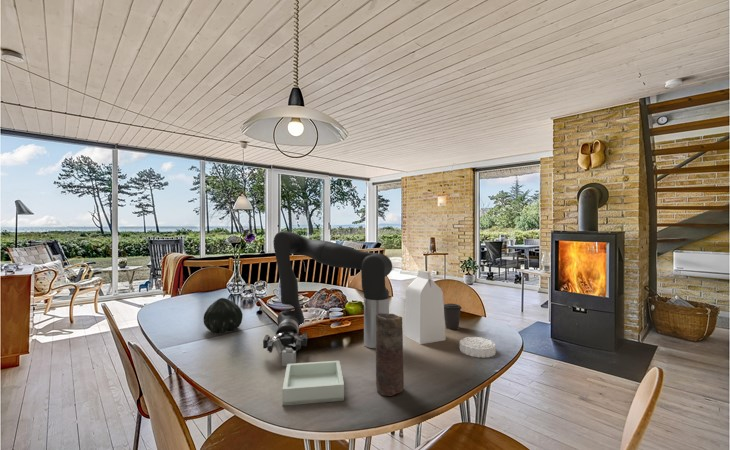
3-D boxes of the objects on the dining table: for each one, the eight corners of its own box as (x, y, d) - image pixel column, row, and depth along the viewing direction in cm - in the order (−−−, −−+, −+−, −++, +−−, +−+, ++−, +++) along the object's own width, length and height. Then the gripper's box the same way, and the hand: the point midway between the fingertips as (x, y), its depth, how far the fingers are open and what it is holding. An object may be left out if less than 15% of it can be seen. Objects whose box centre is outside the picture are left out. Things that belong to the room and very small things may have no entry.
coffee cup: (464, 330, 139) (464, 306, 139) (444, 330, 139) (444, 306, 139) (458, 324, 147) (458, 302, 147) (440, 324, 147) (440, 302, 147)
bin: (339, 374, 98) (339, 360, 98) (344, 400, 83) (344, 384, 83) (287, 377, 95) (287, 363, 95) (282, 405, 81) (282, 389, 81)
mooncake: (466, 343, 124) (466, 333, 124) (499, 350, 117) (499, 339, 117) (454, 353, 115) (454, 342, 115) (490, 361, 108) (490, 350, 108)
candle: (374, 383, 92) (374, 311, 92) (400, 382, 92) (400, 310, 93) (377, 397, 84) (377, 318, 84) (406, 396, 85) (406, 318, 85)
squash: (234, 310, 151) (214, 289, 143) (254, 316, 142) (234, 294, 134) (211, 337, 143) (188, 316, 134) (231, 345, 134) (208, 324, 126)
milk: (403, 334, 134) (403, 270, 134) (427, 331, 138) (427, 268, 138) (419, 344, 123) (419, 273, 123) (445, 340, 127) (445, 272, 127)
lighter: (296, 364, 105) (296, 339, 105) (293, 366, 103) (293, 341, 103) (275, 362, 106) (275, 337, 106) (272, 364, 104) (272, 339, 104)
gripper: (266, 322, 117) (259, 337, 101) (308, 320, 119) (307, 335, 103) (266, 343, 117) (259, 362, 101) (308, 341, 119) (307, 359, 103)
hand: (283, 348), depth 102 cm, fingers open, 7 cm apart
